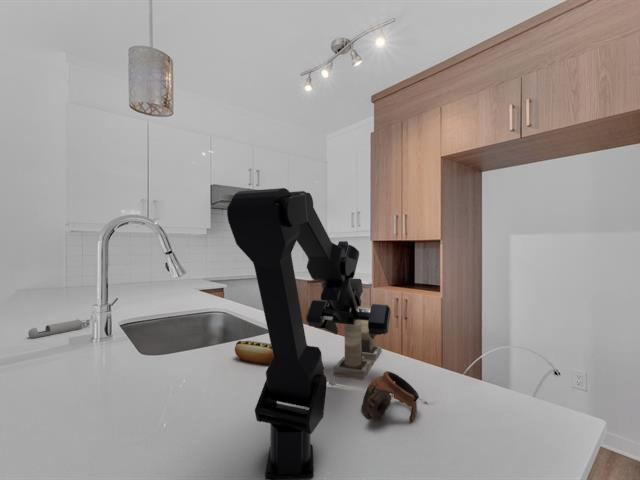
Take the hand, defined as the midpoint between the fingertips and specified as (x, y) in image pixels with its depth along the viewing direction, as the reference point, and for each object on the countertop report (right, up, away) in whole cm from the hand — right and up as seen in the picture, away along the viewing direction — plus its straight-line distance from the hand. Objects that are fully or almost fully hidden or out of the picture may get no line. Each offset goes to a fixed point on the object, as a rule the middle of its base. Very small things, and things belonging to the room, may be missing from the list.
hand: (354, 334), depth 77 cm
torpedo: (-100, -10, +35) cm, 107 cm away
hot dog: (-25, -10, +8) cm, 28 cm away
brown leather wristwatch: (+4, -9, -19) cm, 22 cm away
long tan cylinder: (+4, -8, +10) cm, 13 cm away
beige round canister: (-1, -8, -1) cm, 8 cm away
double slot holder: (+2, -9, +4) cm, 10 cm away
